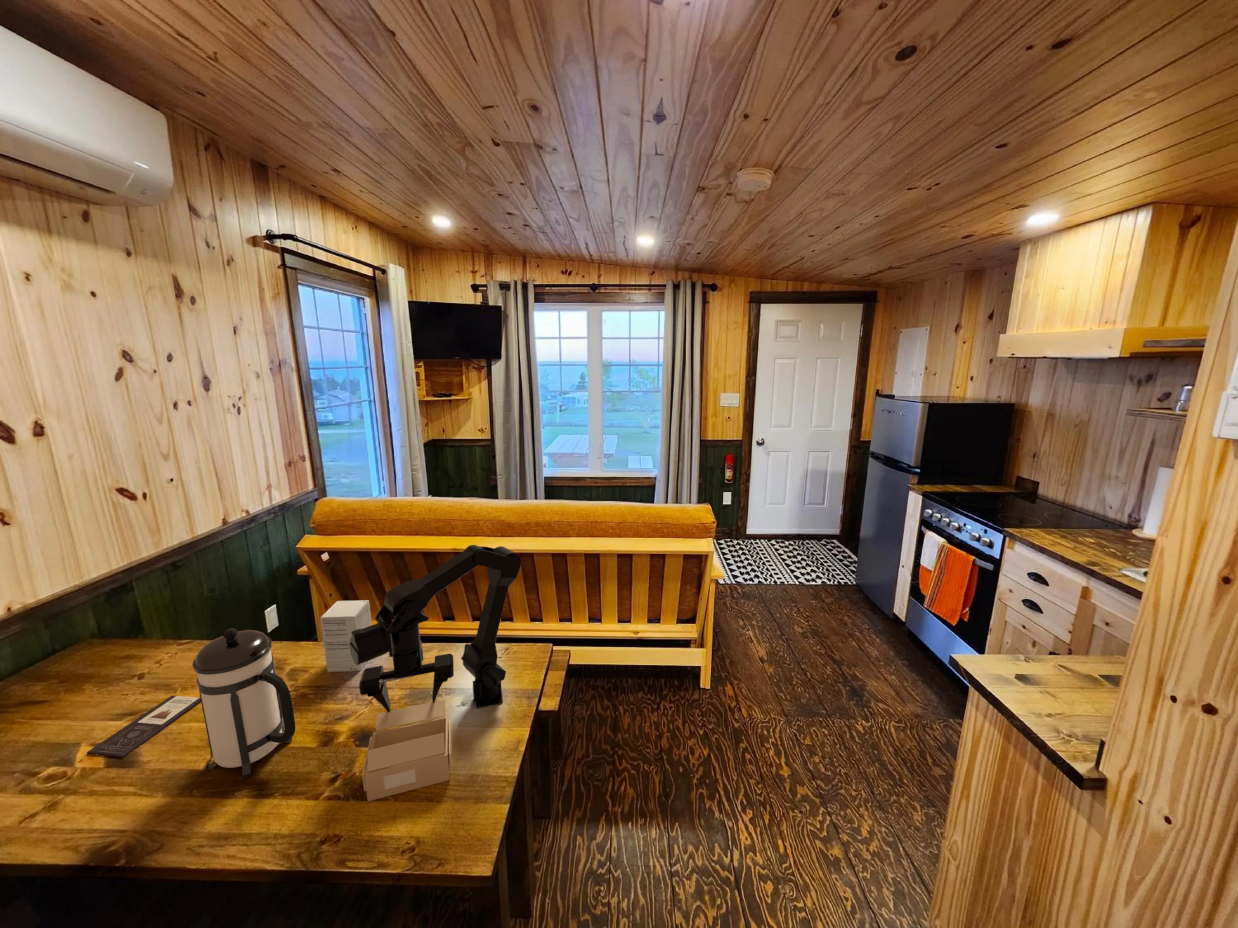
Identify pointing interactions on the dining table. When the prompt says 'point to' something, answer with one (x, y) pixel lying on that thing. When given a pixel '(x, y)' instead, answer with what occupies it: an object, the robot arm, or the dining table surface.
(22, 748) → the dining table surface
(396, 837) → the dining table surface
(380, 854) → the dining table surface
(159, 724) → the chocolate bar
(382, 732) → the carton
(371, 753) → the flap camera side
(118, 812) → the dining table surface
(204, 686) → the coffee press
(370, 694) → the robot arm
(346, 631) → the supplement box
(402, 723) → the tan cardboard box flap
